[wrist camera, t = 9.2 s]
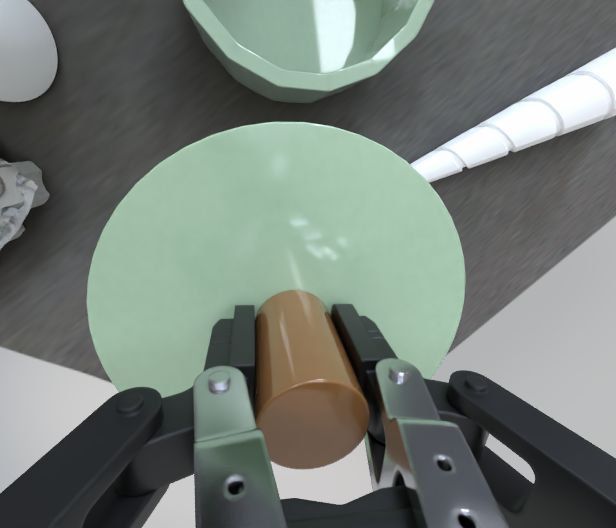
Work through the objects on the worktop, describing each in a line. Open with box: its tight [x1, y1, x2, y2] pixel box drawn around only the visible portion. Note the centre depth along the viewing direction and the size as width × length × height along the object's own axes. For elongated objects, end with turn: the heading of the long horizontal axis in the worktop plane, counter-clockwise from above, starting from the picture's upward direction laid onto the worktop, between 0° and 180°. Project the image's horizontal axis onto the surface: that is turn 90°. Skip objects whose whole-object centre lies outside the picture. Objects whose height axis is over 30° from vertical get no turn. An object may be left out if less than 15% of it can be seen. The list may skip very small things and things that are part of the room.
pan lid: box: [87, 122, 465, 469], centre depth 11 cm, size 15×15×6 cm
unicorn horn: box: [410, 48, 616, 183], centre depth 25 cm, size 5×24×5 cm, turn 111°
